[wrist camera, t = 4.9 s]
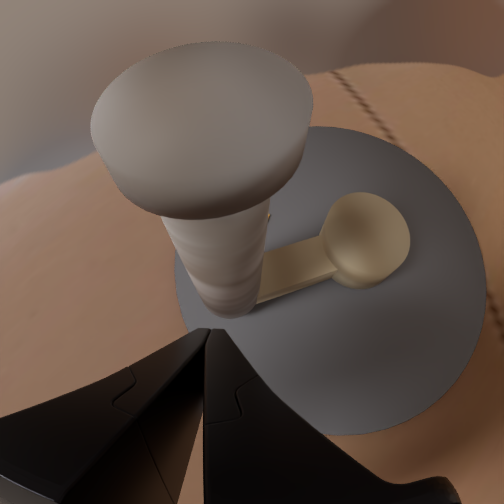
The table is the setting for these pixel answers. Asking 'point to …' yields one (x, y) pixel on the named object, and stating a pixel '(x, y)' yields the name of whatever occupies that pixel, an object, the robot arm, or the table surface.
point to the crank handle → (234, 174)
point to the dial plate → (362, 295)
